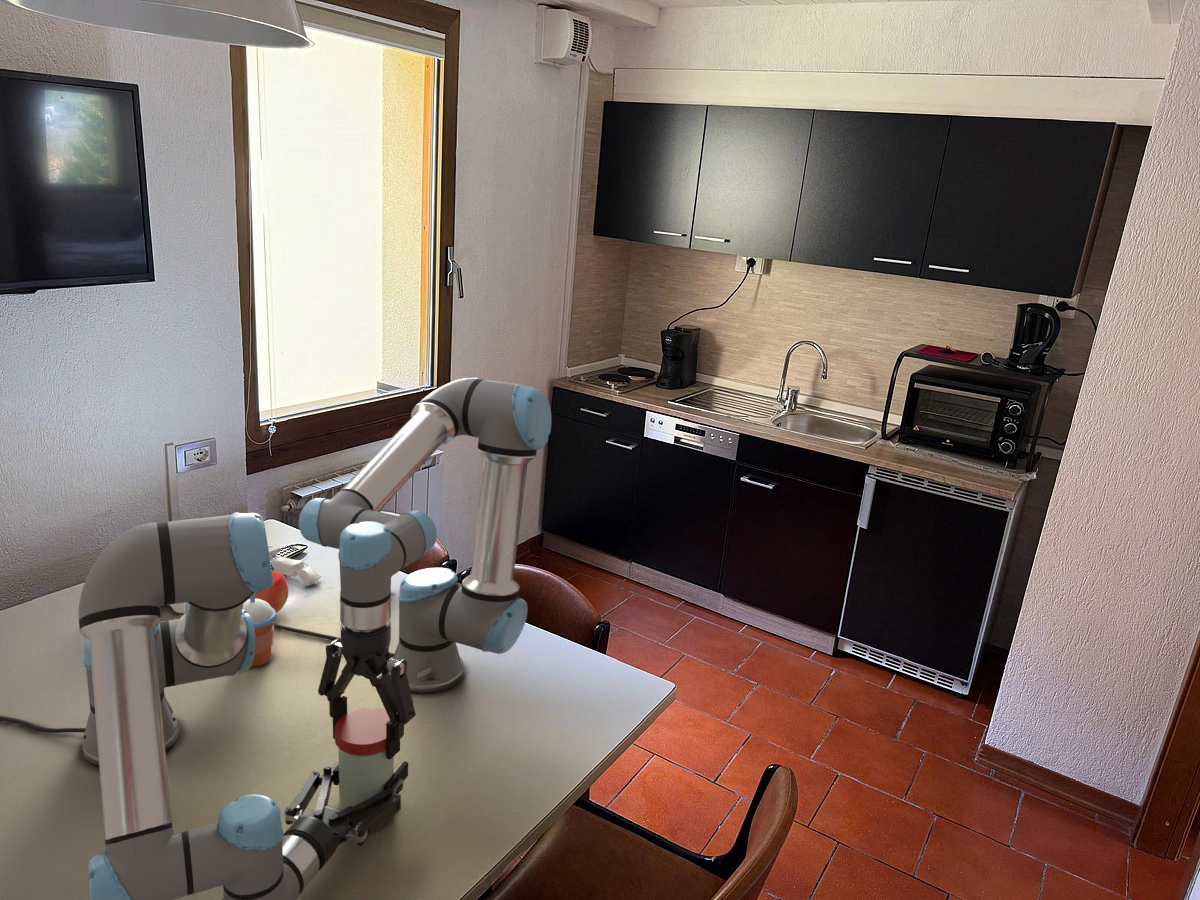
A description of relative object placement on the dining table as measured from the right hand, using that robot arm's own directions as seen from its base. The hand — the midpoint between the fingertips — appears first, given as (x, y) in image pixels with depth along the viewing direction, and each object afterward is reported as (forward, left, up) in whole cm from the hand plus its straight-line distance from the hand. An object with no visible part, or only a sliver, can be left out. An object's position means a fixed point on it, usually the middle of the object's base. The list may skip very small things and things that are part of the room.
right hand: (366, 744), depth 138 cm
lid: (0, 0, +3) cm, 3 cm away
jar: (0, 0, -13) cm, 13 cm away
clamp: (-75, +55, -13) cm, 94 cm away
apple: (-64, +37, -13) cm, 75 cm away
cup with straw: (-51, +22, -13) cm, 57 cm away
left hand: (-1, +5, -7) cm, 8 cm away
